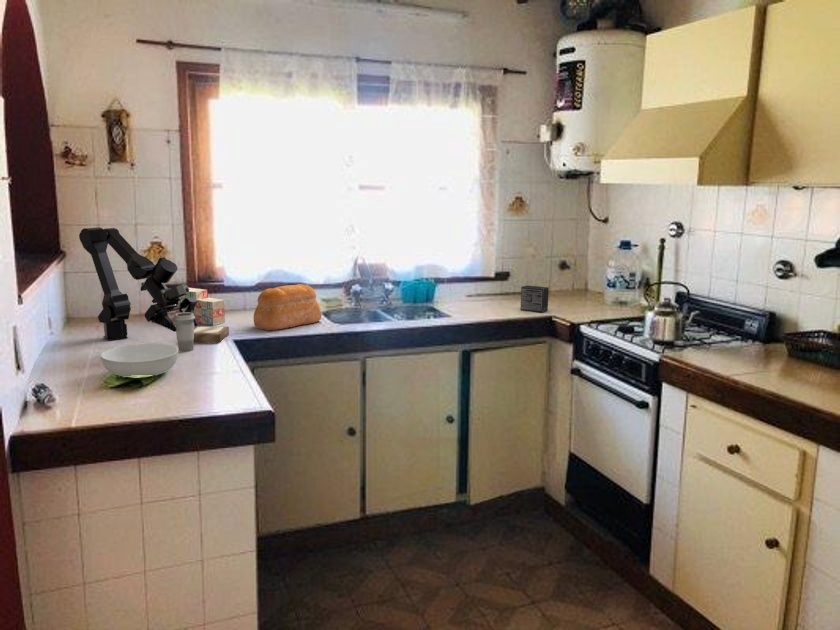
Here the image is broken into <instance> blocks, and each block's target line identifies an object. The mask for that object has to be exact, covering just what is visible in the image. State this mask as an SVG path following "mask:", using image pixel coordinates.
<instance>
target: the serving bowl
mask: <svg viewBox="0 0 840 630" xmlns="http://www.w3.org/2000/svg"><path fill="white" fill-rule="evenodd" d="M179 352H180V351H179V348H178V346H175V345H173V344H169V343H162V342H161V343H159V342H145V343H144V342H143V343H133V344H131V343H130V344H124V345H118V346H115V347H111V348H108V349H106V350H104V351H102V352H101V353H100V360H101V363H102V365H103V367H104V369H105V370H106V371H108V372H109V373H111V374H112V375H114V376H116V375H120V376H131V375H155V376H159V375H161V374H164V373H166V372H168V371H169V370H171V369H172V368H173V367H174V366H175V365H176V364H177V361H178V358H179ZM120 376H119V377H120Z"/></svg>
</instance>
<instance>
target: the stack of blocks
mask: <svg viewBox="0 0 840 630" xmlns="http://www.w3.org/2000/svg"><path fill="white" fill-rule="evenodd" d="M188 288H189V292H187V295H183V296H181V297H180V298H181V300H180V301H178V304H179V303H181V302H182V301H183V300H184V298H188V297H195V298H196V299H197V301H198V303H197V304H196V306H195V308H194V312H195V316H196V320H197V322H198V324H201V323H203V324H202V325H207V324H208V326H218V325H222V324H225V323H226V316H225V314H226V313H225V310H226V309H225V308H226V306H225V305H226V304H225V299H221V298H215V297H209V291H208V289H202V288H194V287H188ZM175 312H176V313H181V312H180V311H179V310H175ZM176 313H175V314H176ZM217 324H218V325H217Z"/></svg>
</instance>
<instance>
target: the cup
mask: <svg viewBox="0 0 840 630" xmlns="http://www.w3.org/2000/svg"><path fill="white" fill-rule="evenodd" d="M194 318H195V316H194V315H193V313H190V312H182V313H174V316H173V320H174V325H175V327H176V329H177V330H176V332H175V333H176V341H177V348H178V350H179V351H178V352H191V350H192V351H193V350H194V343H193V339H194V327H195V326H194V322H193V319H194Z"/></svg>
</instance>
